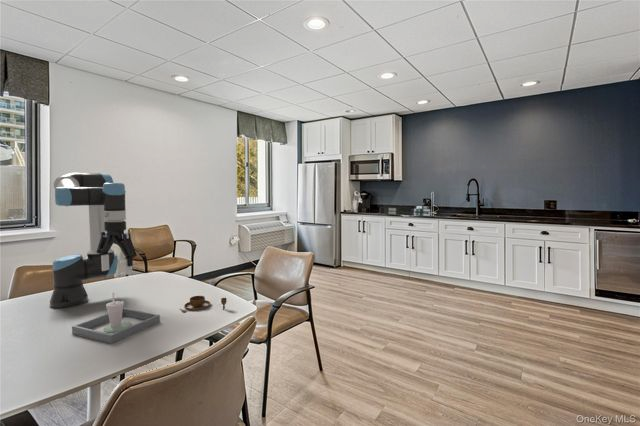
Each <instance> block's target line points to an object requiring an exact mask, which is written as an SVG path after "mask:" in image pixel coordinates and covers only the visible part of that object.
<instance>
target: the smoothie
mask: <svg viewBox="0 0 640 426" xmlns="http://www.w3.org/2000/svg"><path fill="white" fill-rule="evenodd" d="M124 306H125V302H124V301H123V300H115V292H113V293H112V301H110V302H108V303H106V305H105V307H106V310H107V314H108V316H109V321H108V322H109V325H110V326H111V328H117V327H120V326H121V322H123V316H122V313H123V308H124Z"/></svg>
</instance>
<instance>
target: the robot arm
mask: <svg viewBox="0 0 640 426" xmlns="http://www.w3.org/2000/svg"><path fill="white" fill-rule="evenodd" d="M125 186H126V185H125V184H124V183H122V182H114V180H113V177H112V176H111V175H110V174H108V173H101V172H100V173H94V172H93V173H91V172H90V173H89V172H70V173H64V174H62V175H60V176H58V177H57V178H56V179H55V180H54V183H53V188H54V201H55V202H54V204H55V205H56V206H57V207H58V206H59V207H60V206H61V207H69V206H70V207H73V206H75V207H76V206H88V222H89V223H88V225H89V245H90V246H89V247H90V249H89V250H88V251H87V252H86V256H83V255H82V254H71V255H65V256H62V257H61V256H60V257H58V258H56V259H54V261H53V262H52V269H51V270H52V277H53V278H52V279H53V281H52V282H53V283H52V284H53V291H52V294H51V297H50V300H49V307H50V308H52V309H53V308H54V309H55V308H56V309H61V308H62V309H64V308H72V307H75V306H79V305H82V304H85V303H87V301H88V300H89V296H88V293H87V291H86V289H85V287H84V281H86V280H87V281H88V280H92V279H101V278H104V279H105V278H107V277H113V276H115V274H116V273H117V270H118V262H119V259H118V254H117V253H116V252H114V251H115V250H114V249H112V247H113V245H114V244H115V245H117V246H118V247H119V248H120V250H121V252H122V254H123V255H124V256H125V257H124V275H126V276H127V275H132V274H133V264H134V263H133V259H134V258H135V257H137V251H136V250H135V246H134V244H133V241H132V238H131V233H130V232H128V233H125V230H126V229H127V222H126V221H125V220H127V212H126V211H127V210H126V187H125ZM126 231H127V230H126Z"/></svg>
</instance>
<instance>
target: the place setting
mask: <svg viewBox="0 0 640 426" xmlns="http://www.w3.org/2000/svg"><path fill="white" fill-rule="evenodd" d="M220 302H221V305H222V310H223V311H225V310H226V304H227V297H221V298H220ZM204 304H206V305H205V306H203V305H204ZM188 306H191V307H188ZM210 306H211V302H210V301H209V300H206V297H205V296H204V295H194V296H191V297H190V298H189V301H188V302H186V303H185V304H184V309H182V308H179V310H180V311H181V312H182V313H186V312H187V311H193V312H195V311H196V312H197V311H202V310H205V309H207V308H209V307H210ZM224 309H225V310H224Z"/></svg>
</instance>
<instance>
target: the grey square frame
mask: <svg viewBox="0 0 640 426" xmlns="http://www.w3.org/2000/svg"><path fill="white" fill-rule="evenodd" d="M123 316H125V317H129V318H134V319H140V320H142V321H140V322H138V323H135V324H133V323H132V322H129V321H122V322H121V326H120V327H117V328H111V326H110V324H109V325H108V324H107V326H105V327H104V328H103V331H99V330H95V329H92V328H94V327H96V326H99V325H101V324H105V323H107V322H110V321H109V316H108V313H105V314H103V315H100V316H96V317H94V318H91V319H89V320H85V321H82V322H80V323H77V324H74V325H71V334H72V335H76V336H80V337H84V338H88V339H92V340H96V341H99V342H103V343H106V344H110V345H112V344H114V343H116V342H119V341H121V340H123V339H125V338H127V337H129V336H131V335H134V334H136V333H138V332H141V331H143V330H145V329H147V328H149V327H152V326H153V325H157V324H158V323H160V322H161V315H160V314H157V313H151V312H147V311H142V310H137V309H132V308H126V307H123V313H122V317H123Z"/></svg>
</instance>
